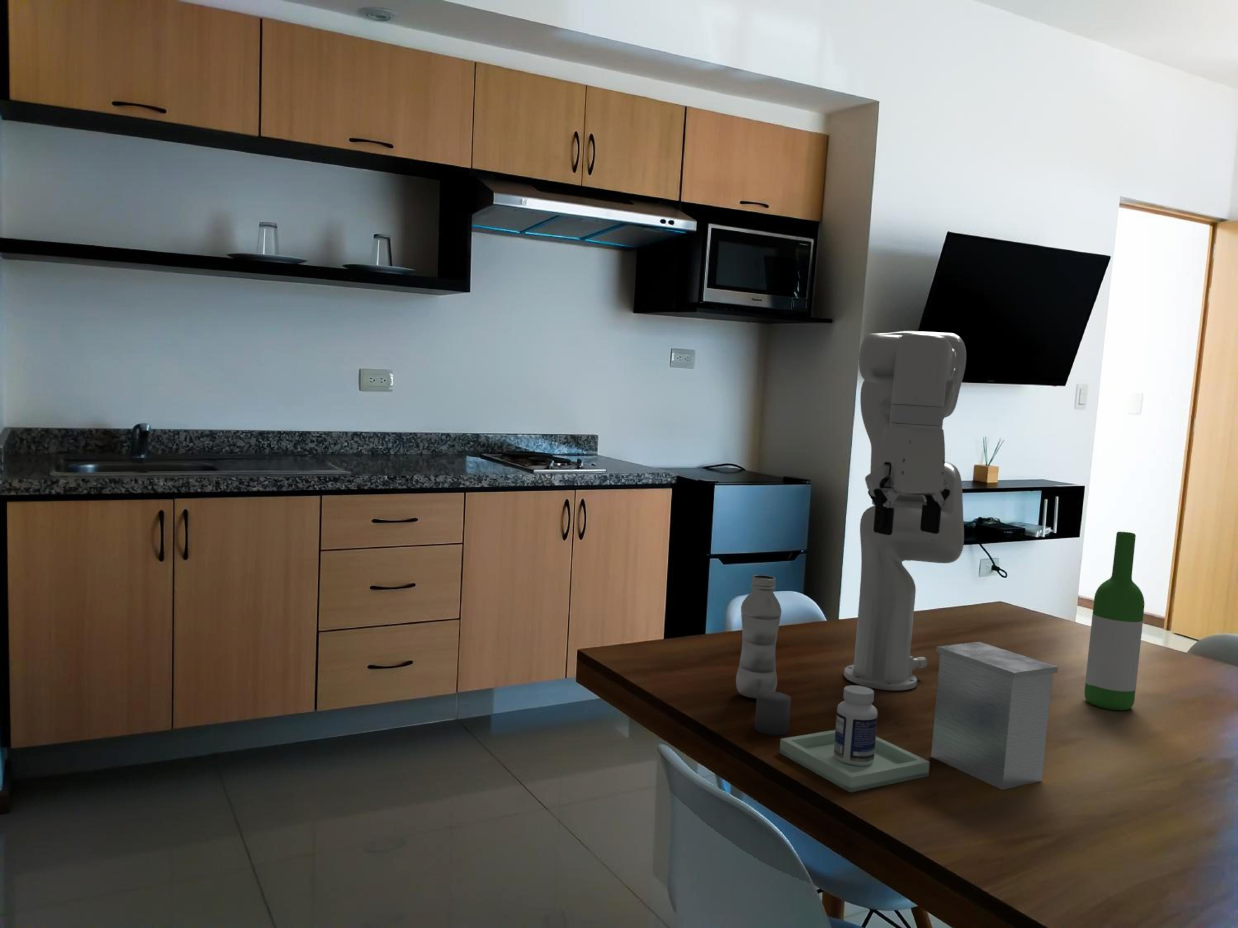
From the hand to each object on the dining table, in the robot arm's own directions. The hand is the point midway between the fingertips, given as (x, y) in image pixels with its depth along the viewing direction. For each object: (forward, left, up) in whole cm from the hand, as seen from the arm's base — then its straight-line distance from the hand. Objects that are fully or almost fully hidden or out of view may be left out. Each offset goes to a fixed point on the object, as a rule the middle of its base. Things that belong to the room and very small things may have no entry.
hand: (906, 532), depth 143 cm
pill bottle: (+15, +8, -30) cm, 34 cm away
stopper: (+17, -7, -30) cm, 36 cm away
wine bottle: (-48, +4, -31) cm, 57 cm away
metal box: (-2, +16, -30) cm, 34 cm away
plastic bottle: (+10, -20, -31) cm, 38 cm away
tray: (+15, +8, -30) cm, 35 cm away
